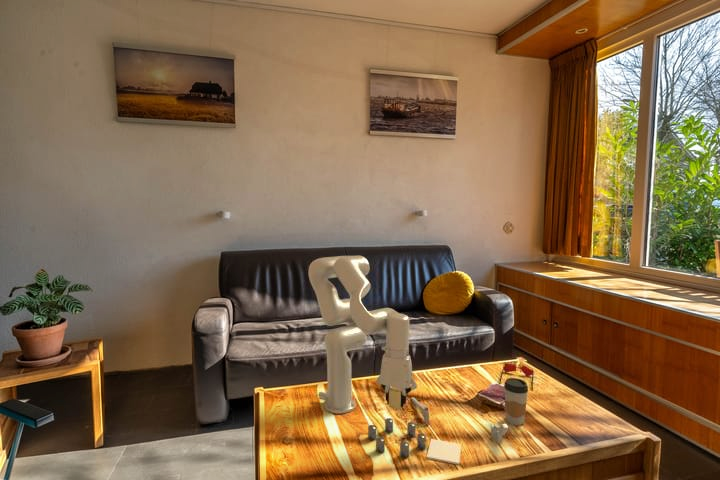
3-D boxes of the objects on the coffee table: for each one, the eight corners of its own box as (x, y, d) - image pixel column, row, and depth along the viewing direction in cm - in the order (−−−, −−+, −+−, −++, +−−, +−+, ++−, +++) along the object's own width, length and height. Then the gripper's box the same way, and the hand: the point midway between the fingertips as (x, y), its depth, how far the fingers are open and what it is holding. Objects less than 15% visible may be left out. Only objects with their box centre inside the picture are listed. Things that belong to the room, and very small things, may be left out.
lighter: (490, 437, 137) (491, 415, 136) (494, 436, 137) (495, 414, 137) (503, 449, 130) (503, 426, 129) (507, 448, 131) (508, 425, 130)
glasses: (534, 377, 186) (534, 366, 185) (532, 392, 171) (533, 380, 170) (502, 371, 192) (503, 361, 191) (498, 385, 177) (499, 374, 176)
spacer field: (361, 450, 129) (361, 438, 129) (374, 426, 143) (374, 415, 143) (422, 462, 123) (422, 450, 123) (428, 436, 137) (429, 425, 137)
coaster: (426, 458, 125) (426, 456, 125) (431, 440, 135) (431, 438, 135) (459, 464, 122) (459, 462, 122) (461, 446, 132) (461, 444, 132)
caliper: (429, 425, 144) (429, 409, 144) (426, 426, 144) (426, 409, 143) (412, 398, 164) (413, 384, 164) (410, 399, 164) (410, 384, 163)
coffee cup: (527, 418, 149) (528, 379, 148) (526, 429, 142) (528, 389, 140) (503, 413, 153) (505, 375, 151) (501, 424, 145) (503, 384, 144)
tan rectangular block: (388, 407, 131) (389, 390, 131) (391, 401, 135) (391, 384, 135) (400, 409, 130) (400, 392, 130) (402, 403, 134) (403, 386, 133)
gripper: (369, 352, 130) (368, 405, 131) (420, 359, 124) (418, 414, 126) (375, 344, 137) (374, 394, 139) (424, 350, 132) (422, 402, 134)
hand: (395, 403), depth 132 cm, fingers closed on tan rectangular block, 4 cm apart
